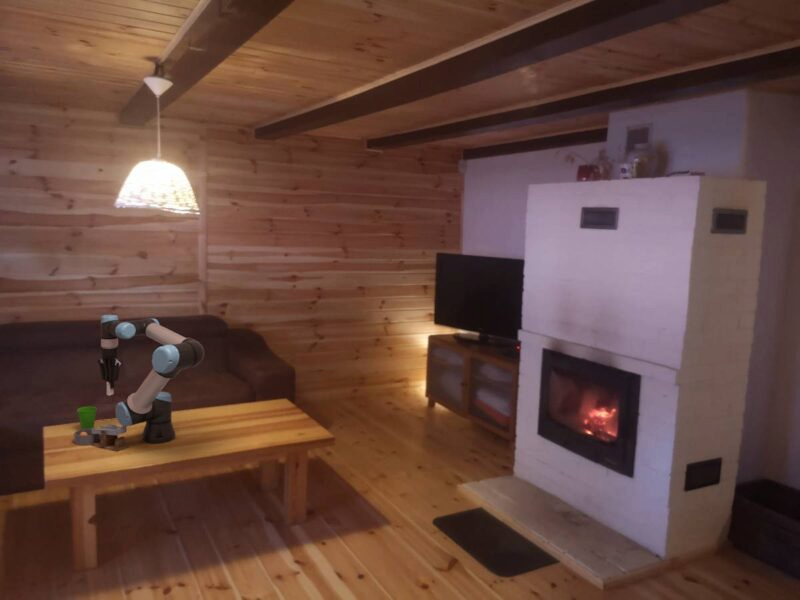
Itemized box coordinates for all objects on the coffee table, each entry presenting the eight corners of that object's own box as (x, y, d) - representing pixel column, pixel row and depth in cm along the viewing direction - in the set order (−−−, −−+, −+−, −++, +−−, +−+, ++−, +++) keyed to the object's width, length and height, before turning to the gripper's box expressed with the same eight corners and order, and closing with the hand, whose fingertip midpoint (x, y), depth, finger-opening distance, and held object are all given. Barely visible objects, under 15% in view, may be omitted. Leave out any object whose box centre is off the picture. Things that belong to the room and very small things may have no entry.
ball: (89, 437, 302) (87, 430, 302) (83, 439, 299) (81, 432, 299) (84, 438, 304) (82, 431, 304) (78, 440, 300) (76, 433, 300)
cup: (89, 434, 310) (89, 412, 309) (73, 432, 312) (72, 410, 310) (101, 428, 319) (101, 407, 317) (85, 426, 321) (85, 405, 319)
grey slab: (136, 428, 300) (136, 422, 300) (117, 435, 289) (117, 429, 289) (110, 426, 306) (110, 420, 306) (91, 433, 295) (90, 427, 295)
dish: (106, 439, 304) (106, 430, 303) (86, 446, 293) (86, 437, 293) (88, 435, 308) (88, 426, 307) (69, 442, 297) (68, 433, 297)
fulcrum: (130, 446, 297) (130, 428, 296) (115, 452, 288) (115, 434, 287) (104, 440, 302) (104, 423, 301) (89, 446, 294) (89, 428, 293)
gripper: (126, 347, 304) (126, 394, 307) (105, 344, 308) (105, 391, 311) (114, 349, 297) (114, 398, 300) (92, 346, 301) (93, 394, 304)
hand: (110, 394), depth 306 cm, fingers closed
